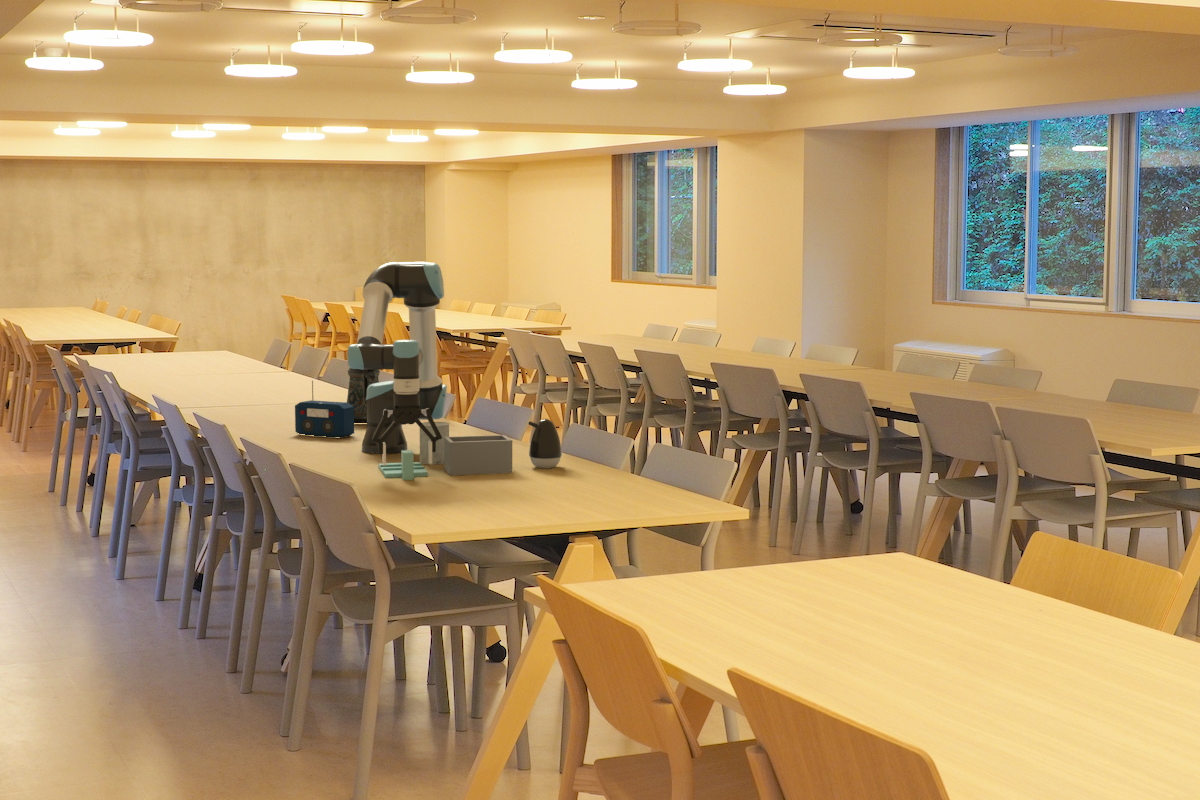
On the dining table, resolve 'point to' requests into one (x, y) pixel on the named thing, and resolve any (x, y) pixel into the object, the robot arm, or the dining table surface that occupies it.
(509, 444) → the tub
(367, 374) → the beer stein
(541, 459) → the pump dispenser
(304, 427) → the radio
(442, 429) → the grey speckled cylinder
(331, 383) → the dining table surface
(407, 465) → the ridged green paddle
